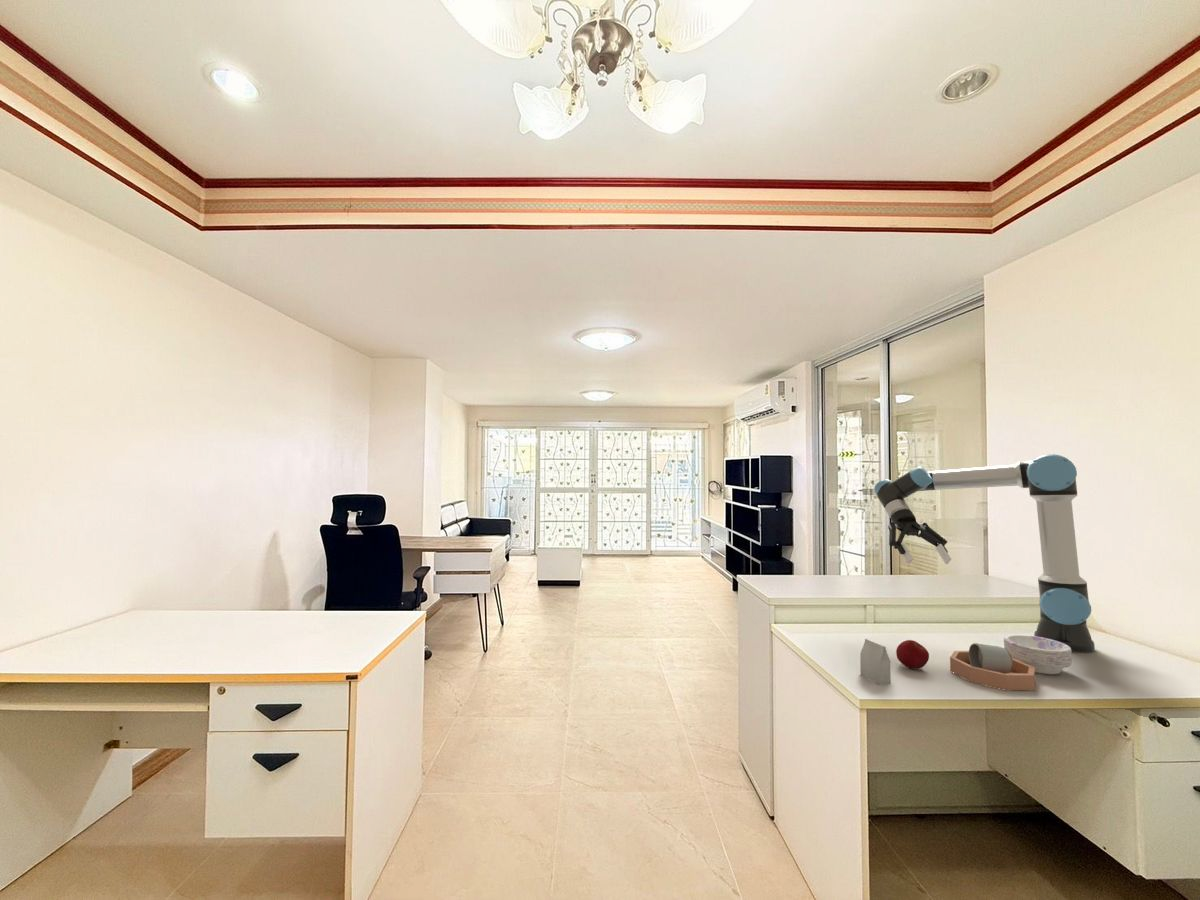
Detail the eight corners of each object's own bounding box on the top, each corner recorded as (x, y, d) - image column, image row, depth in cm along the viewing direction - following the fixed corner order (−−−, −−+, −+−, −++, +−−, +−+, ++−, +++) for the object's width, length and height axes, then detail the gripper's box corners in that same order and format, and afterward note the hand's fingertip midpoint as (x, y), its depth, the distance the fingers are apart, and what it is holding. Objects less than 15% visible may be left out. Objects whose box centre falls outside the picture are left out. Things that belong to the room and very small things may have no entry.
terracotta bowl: (996, 664, 150) (996, 650, 150) (1053, 690, 132) (1053, 675, 132) (937, 664, 150) (936, 650, 150) (986, 690, 131) (986, 675, 132)
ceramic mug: (1016, 678, 137) (1015, 649, 138) (983, 675, 138) (982, 647, 139) (992, 664, 148) (991, 638, 148) (962, 662, 149) (961, 636, 149)
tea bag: (879, 684, 134) (879, 647, 135) (860, 675, 141) (860, 639, 141) (890, 683, 135) (890, 646, 136) (871, 673, 142) (870, 638, 142)
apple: (912, 674, 142) (912, 646, 142) (890, 663, 149) (890, 636, 150) (935, 672, 143) (934, 644, 143) (912, 662, 151) (911, 635, 151)
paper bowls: (993, 663, 151) (992, 636, 152) (1022, 656, 157) (1021, 631, 158) (1054, 682, 137) (1053, 653, 138) (1083, 674, 143) (1082, 646, 144)
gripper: (927, 521, 190) (958, 567, 174) (864, 520, 189) (889, 567, 173) (937, 508, 185) (970, 555, 169) (872, 507, 184) (899, 554, 168)
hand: (929, 561), depth 171 cm, fingers open, 13 cm apart
